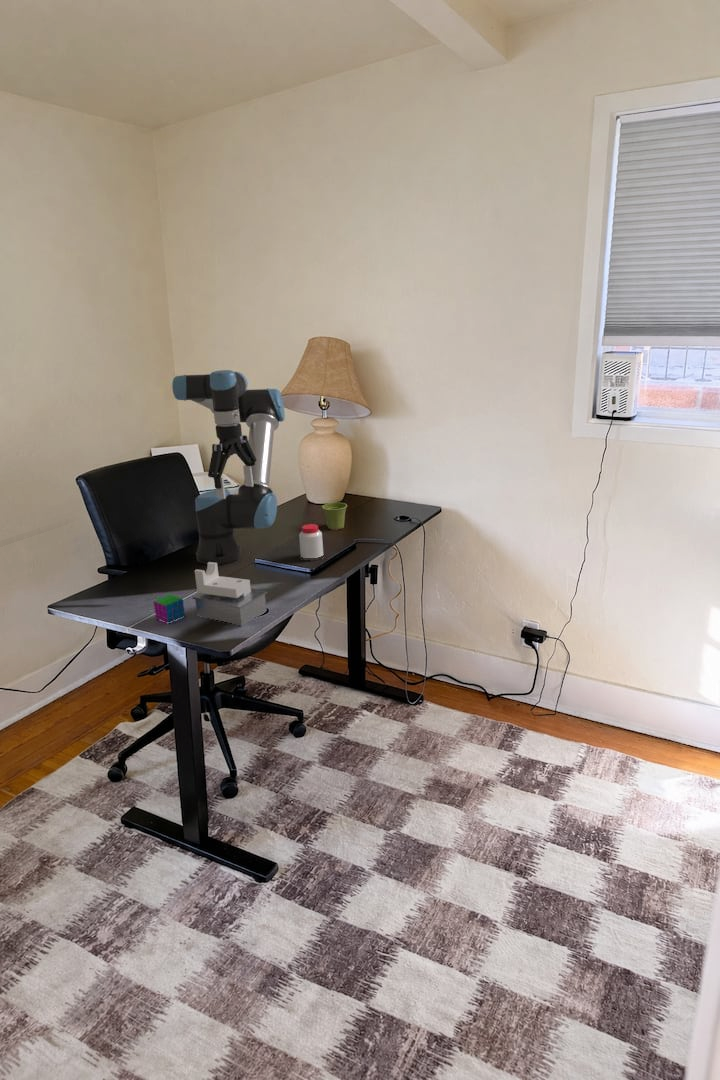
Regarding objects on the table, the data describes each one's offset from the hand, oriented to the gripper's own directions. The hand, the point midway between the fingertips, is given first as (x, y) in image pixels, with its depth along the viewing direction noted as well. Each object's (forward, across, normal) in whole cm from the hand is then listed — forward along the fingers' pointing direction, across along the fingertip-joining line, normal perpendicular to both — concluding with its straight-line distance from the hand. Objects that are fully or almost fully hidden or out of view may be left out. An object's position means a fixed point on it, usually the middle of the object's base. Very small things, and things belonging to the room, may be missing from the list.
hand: (235, 492), depth 226 cm
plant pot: (+29, +53, -1) cm, 61 cm away
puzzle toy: (+27, -36, -2) cm, 45 cm away
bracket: (+21, -26, -14) cm, 36 cm away
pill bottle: (+28, +22, -11) cm, 38 cm away
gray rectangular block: (+27, -26, -16) cm, 40 cm away
